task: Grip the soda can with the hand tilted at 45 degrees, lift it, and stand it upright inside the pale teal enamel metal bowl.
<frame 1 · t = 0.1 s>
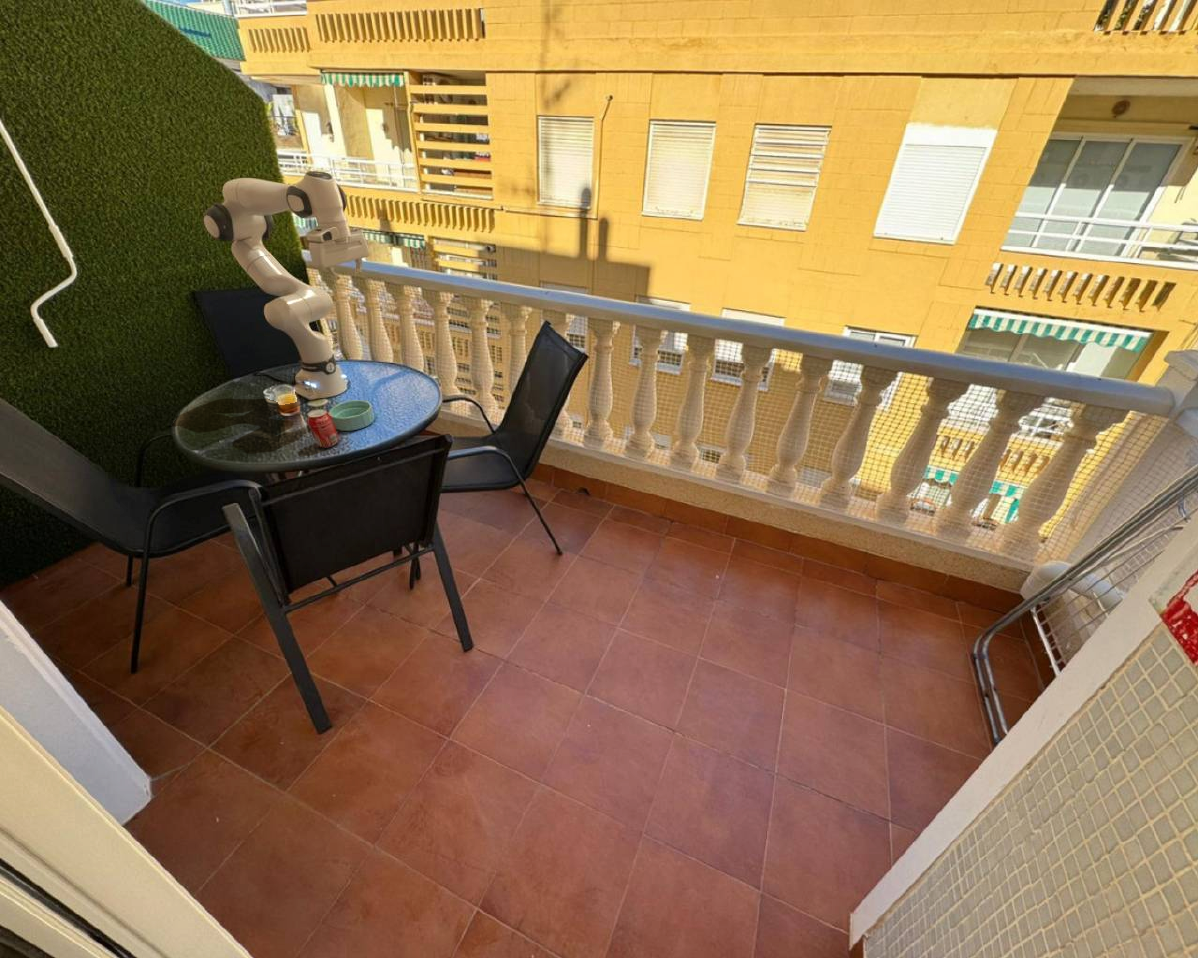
hand: (348, 276, 167), 48 cm above the table, tool pointing down, fingers open, 8 cm apart
bowl: (354, 422, 184), on the table
soda can: (328, 444, 172), on the table
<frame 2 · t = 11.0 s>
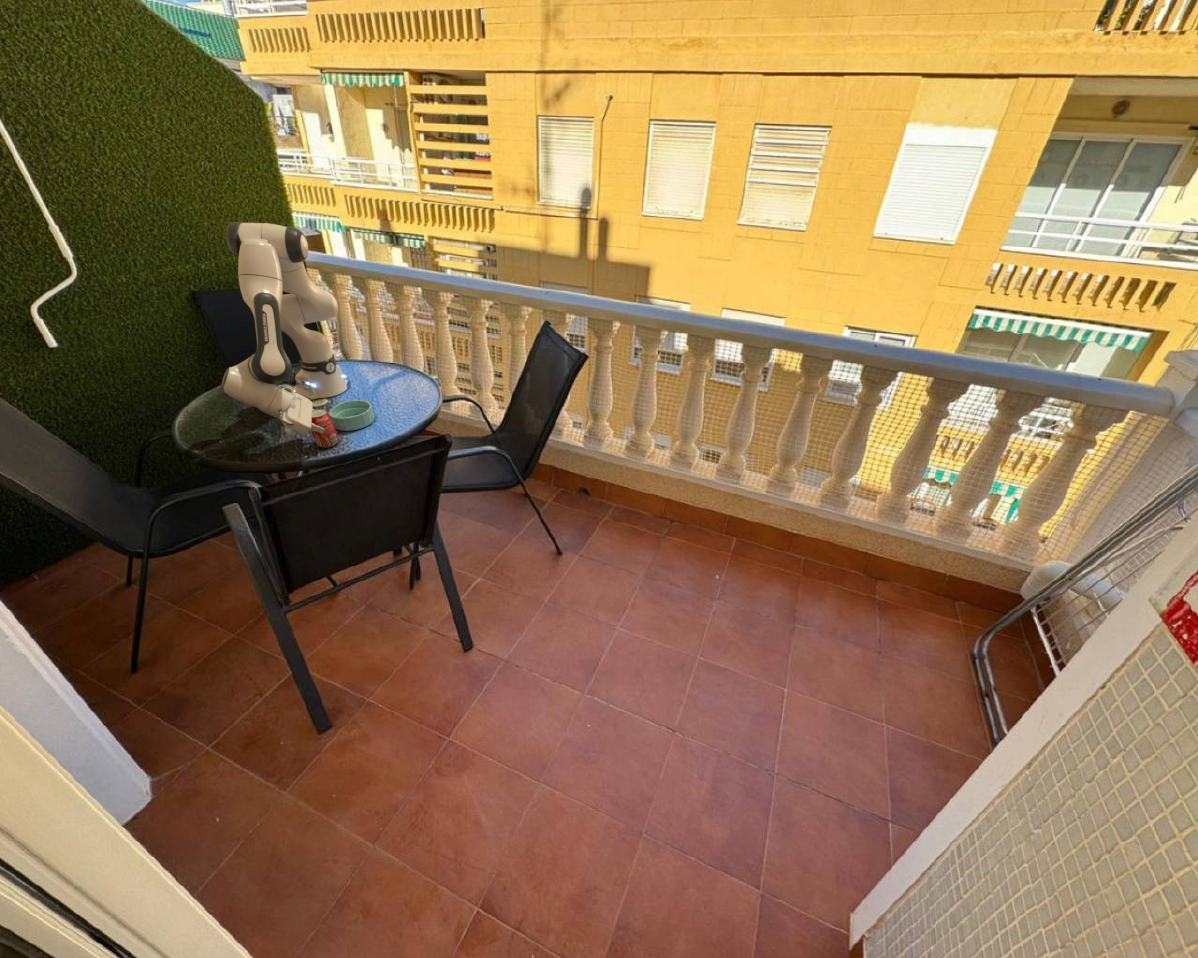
hand: (323, 425, 168), 7 cm above the table, tool tilted 45°, fingers closed on soda can, 7 cm apart
soda can: (328, 444, 172), on the table, touching gripper
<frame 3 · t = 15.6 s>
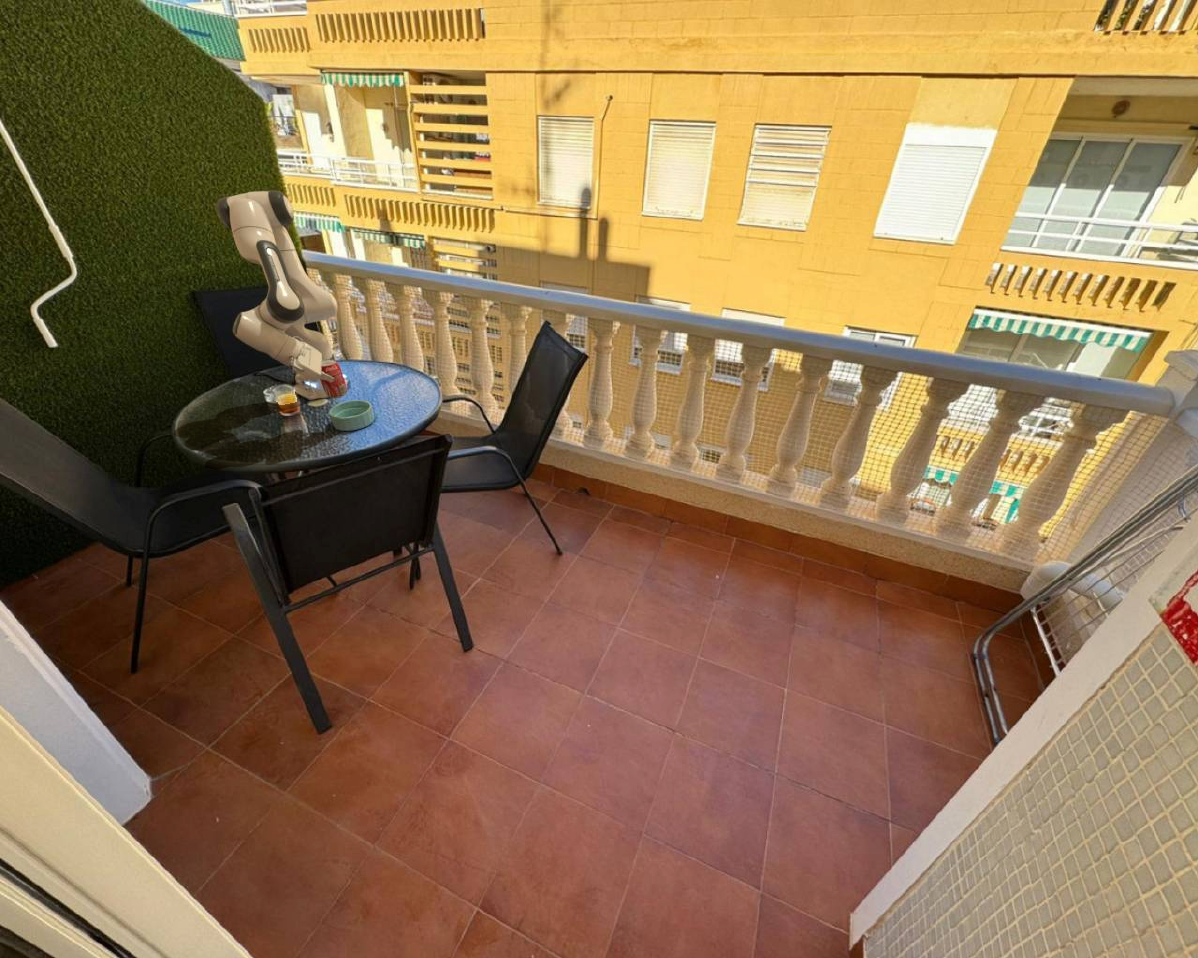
hand: (333, 375, 170), 20 cm above the table, tool tilted 45°, fingers closed on soda can, 7 cm apart
soda can: (337, 395, 174), point 13 cm above the table, touching gripper
when the fingers open (8 cm above the table, at t = 20.1 s): soda can stays where it is, resting on bowl.
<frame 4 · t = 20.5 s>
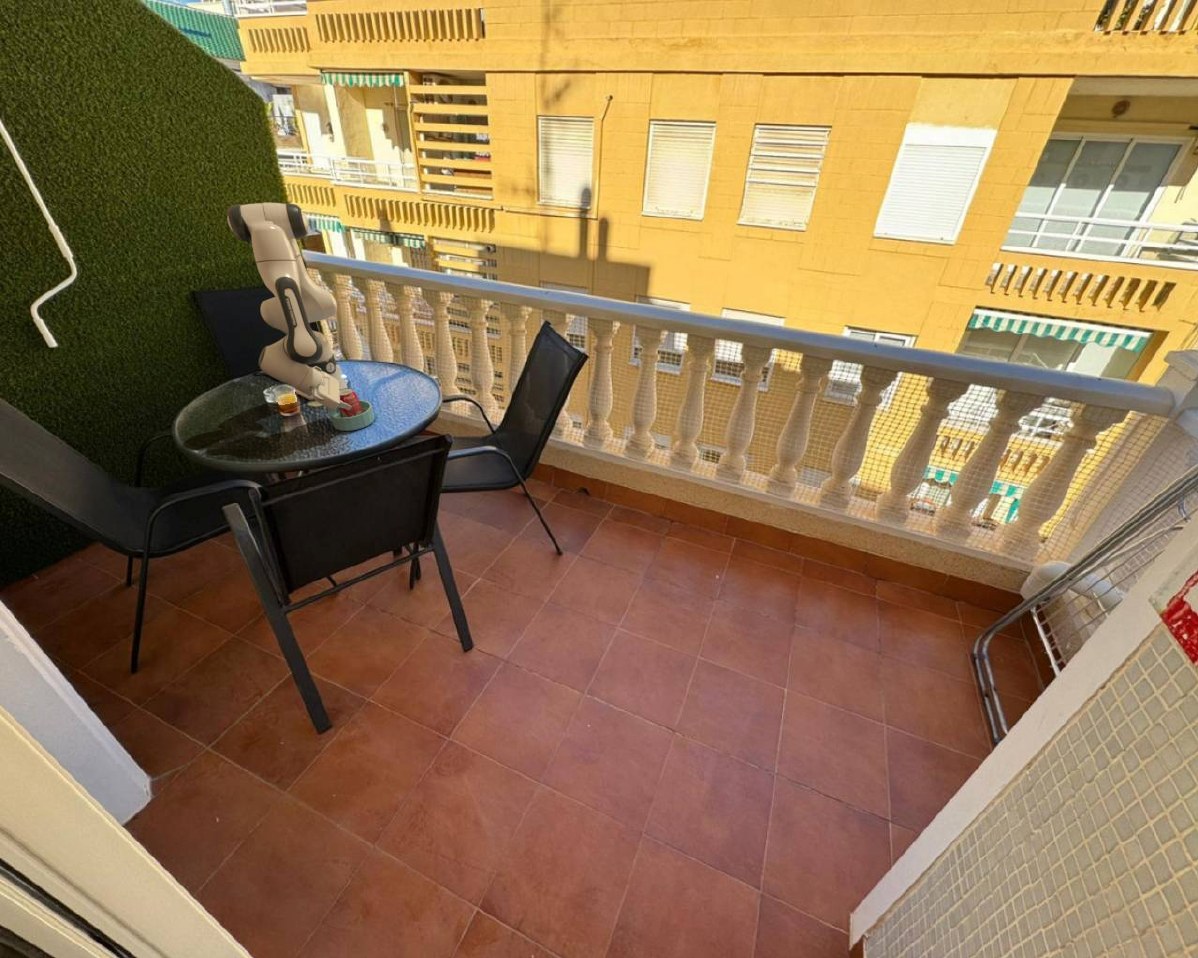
hand: (350, 402, 180), 8 cm above the table, tool tilted 45°, fingers open, 8 cm apart
soda can: (354, 421, 184), resting on bowl
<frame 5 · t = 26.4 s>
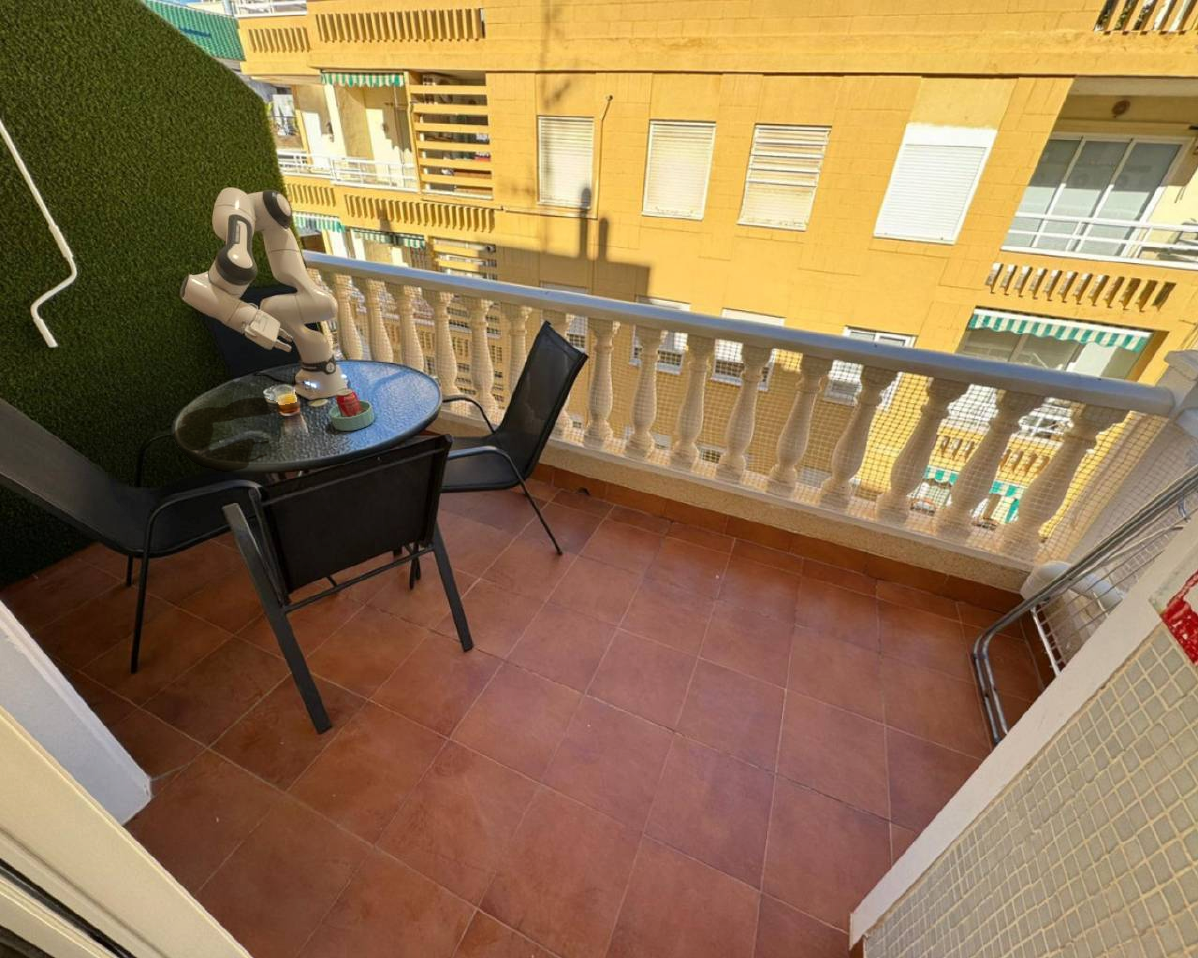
hand: (291, 344, 162), 31 cm above the table, tool tilted 45°, fingers open, 8 cm apart
nothing on the table moved.
at the end: soda can 0.1 cm off-centre in the bowl, point 0.3 cm above the bowl's base; soda can tilted 0°; the gripper is holding nothing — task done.
